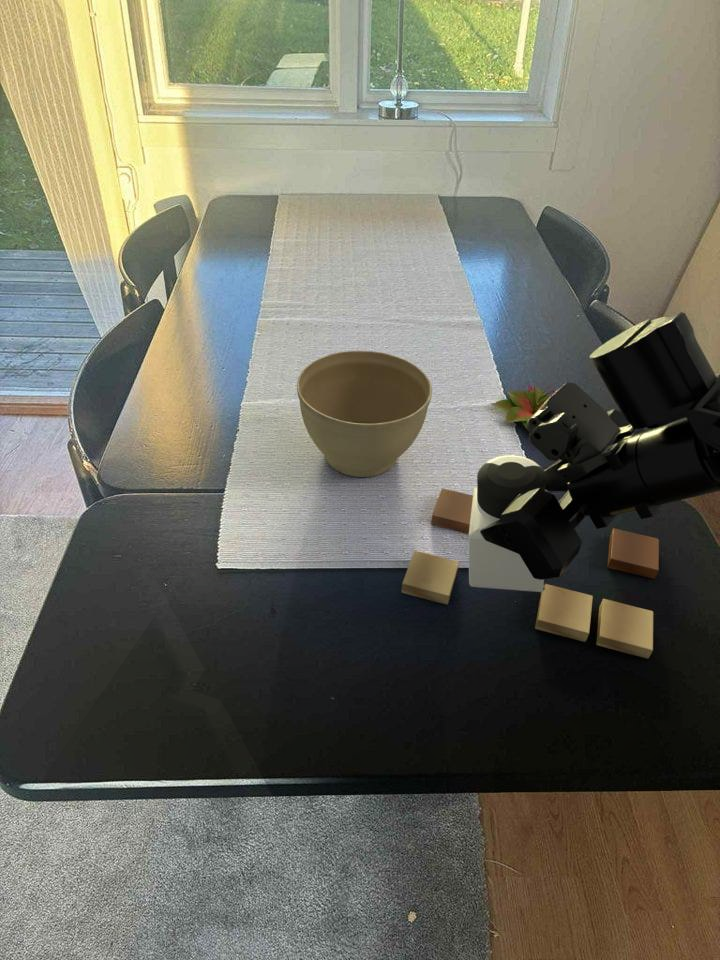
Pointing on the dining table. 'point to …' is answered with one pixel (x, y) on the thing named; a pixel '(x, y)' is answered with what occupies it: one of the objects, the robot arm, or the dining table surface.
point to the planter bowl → (363, 409)
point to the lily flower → (523, 404)
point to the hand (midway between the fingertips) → (508, 508)
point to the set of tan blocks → (546, 608)
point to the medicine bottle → (490, 500)
